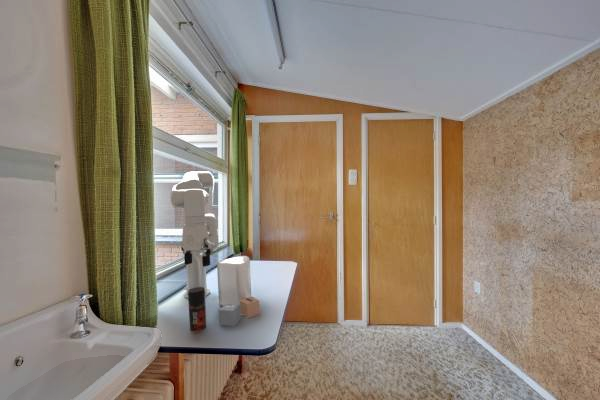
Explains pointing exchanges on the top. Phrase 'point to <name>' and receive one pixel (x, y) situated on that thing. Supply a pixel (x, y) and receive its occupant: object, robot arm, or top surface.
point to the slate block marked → (229, 314)
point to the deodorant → (197, 309)
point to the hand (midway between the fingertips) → (197, 264)
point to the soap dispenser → (233, 280)
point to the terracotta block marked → (249, 307)
